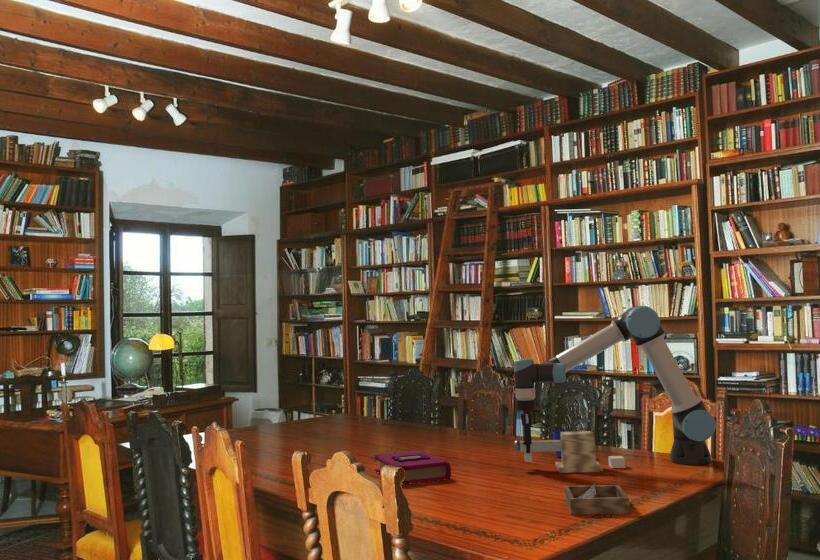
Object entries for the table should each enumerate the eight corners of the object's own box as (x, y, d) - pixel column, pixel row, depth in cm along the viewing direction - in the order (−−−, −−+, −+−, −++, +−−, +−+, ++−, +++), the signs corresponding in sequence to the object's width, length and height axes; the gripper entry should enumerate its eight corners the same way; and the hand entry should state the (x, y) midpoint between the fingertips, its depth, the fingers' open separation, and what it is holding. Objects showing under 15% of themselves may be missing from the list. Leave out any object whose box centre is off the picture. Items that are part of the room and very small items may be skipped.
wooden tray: (619, 499, 234) (618, 485, 234) (629, 513, 217) (629, 498, 217) (564, 500, 236) (564, 485, 236) (570, 514, 219) (570, 499, 219)
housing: (597, 464, 289) (595, 429, 290) (603, 471, 275) (601, 435, 276) (555, 465, 291) (554, 430, 291) (559, 472, 277) (557, 436, 277)
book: (423, 467, 298) (423, 448, 299) (451, 480, 272) (450, 459, 273) (374, 472, 291) (373, 453, 292) (397, 487, 265) (396, 465, 265)
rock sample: (565, 488, 235) (585, 472, 231) (583, 502, 236) (603, 486, 233) (568, 510, 225) (588, 494, 222) (586, 525, 226) (607, 508, 223)
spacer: (608, 456, 285) (608, 466, 285) (611, 458, 280) (611, 469, 280) (621, 455, 285) (622, 466, 284) (624, 458, 280) (625, 468, 280)
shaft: (588, 449, 285) (587, 438, 285) (589, 451, 281) (589, 440, 281) (514, 451, 288) (514, 439, 288) (515, 453, 283) (514, 441, 283)
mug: (584, 458, 302) (583, 433, 302) (554, 458, 304) (552, 433, 304) (583, 454, 310) (582, 430, 310) (554, 454, 312) (553, 430, 312)
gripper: (514, 397, 295) (517, 456, 293) (516, 401, 278) (519, 465, 277) (533, 396, 294) (536, 456, 293) (536, 401, 277) (539, 464, 276)
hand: (528, 460), depth 285 cm, fingers closed on shaft, 4 cm apart
